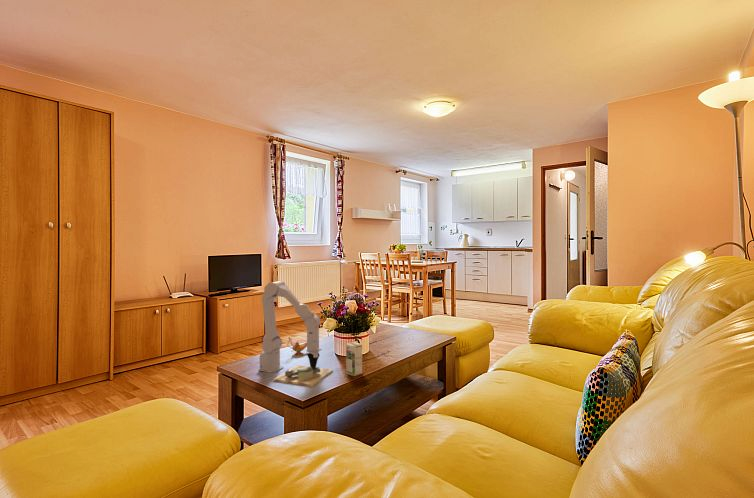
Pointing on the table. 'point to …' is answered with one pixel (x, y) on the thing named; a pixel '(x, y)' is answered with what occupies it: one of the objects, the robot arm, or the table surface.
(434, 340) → the table surface
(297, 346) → the magic lamp
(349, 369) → the syrup box
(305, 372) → the keeper
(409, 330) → the table surface
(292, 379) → the pintle board
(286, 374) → the steel link
